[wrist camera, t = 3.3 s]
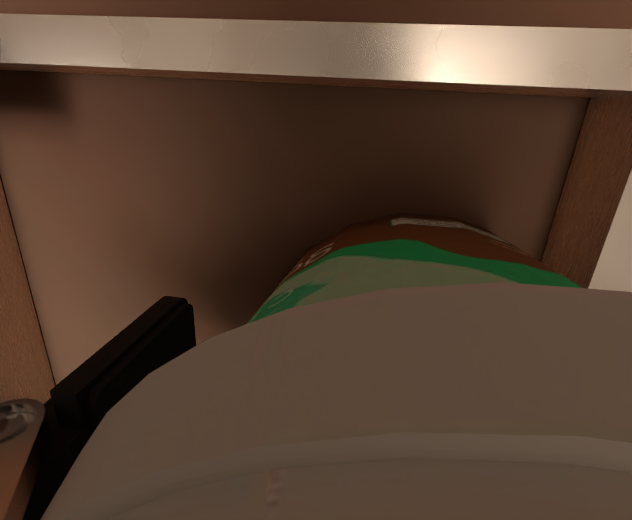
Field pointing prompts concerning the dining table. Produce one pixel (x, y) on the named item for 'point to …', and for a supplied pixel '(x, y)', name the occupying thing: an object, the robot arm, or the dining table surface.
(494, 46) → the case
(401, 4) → the dining table surface
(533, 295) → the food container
